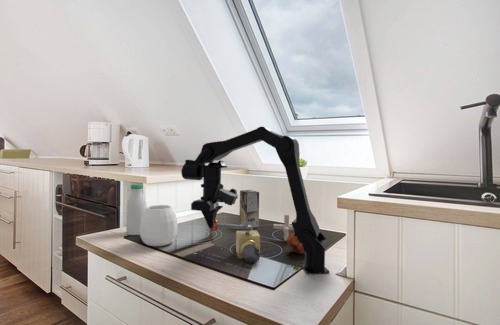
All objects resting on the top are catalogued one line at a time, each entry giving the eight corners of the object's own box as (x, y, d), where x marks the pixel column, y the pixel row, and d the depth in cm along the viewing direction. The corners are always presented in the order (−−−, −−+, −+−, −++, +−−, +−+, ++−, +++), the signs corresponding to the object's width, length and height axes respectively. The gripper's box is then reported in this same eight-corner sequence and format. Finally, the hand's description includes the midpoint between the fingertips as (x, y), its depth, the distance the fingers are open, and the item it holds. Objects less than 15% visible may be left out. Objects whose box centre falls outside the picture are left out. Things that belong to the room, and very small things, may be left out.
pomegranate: (297, 265, 95) (318, 243, 98) (284, 248, 93) (305, 227, 97) (287, 259, 102) (306, 239, 105) (274, 243, 100) (294, 224, 104)
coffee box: (259, 227, 133) (260, 192, 133) (246, 228, 130) (247, 192, 130) (250, 222, 142) (251, 189, 141) (238, 223, 139) (239, 190, 138)
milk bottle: (146, 234, 118) (147, 185, 118) (126, 236, 115) (126, 185, 115) (146, 229, 125) (146, 183, 125) (126, 231, 123) (126, 183, 122)
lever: (253, 231, 98) (253, 222, 98) (251, 234, 95) (251, 224, 95) (211, 228, 102) (211, 219, 102) (207, 230, 99) (207, 221, 99)
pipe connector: (298, 244, 108) (299, 218, 108) (271, 242, 110) (272, 216, 110) (299, 237, 118) (300, 212, 118) (275, 235, 120) (275, 211, 120)
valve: (263, 263, 90) (263, 236, 89) (240, 264, 89) (240, 237, 88) (253, 245, 106) (253, 223, 106) (234, 246, 105) (234, 223, 105)
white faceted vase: (139, 239, 111) (140, 204, 111) (175, 237, 116) (175, 203, 115) (139, 251, 99) (139, 211, 98) (179, 247, 103) (180, 209, 103)
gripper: (225, 184, 86) (224, 237, 86) (243, 180, 104) (241, 224, 104) (190, 182, 89) (189, 234, 89) (213, 178, 107) (212, 221, 107)
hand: (210, 227), depth 97 cm, fingers closed
